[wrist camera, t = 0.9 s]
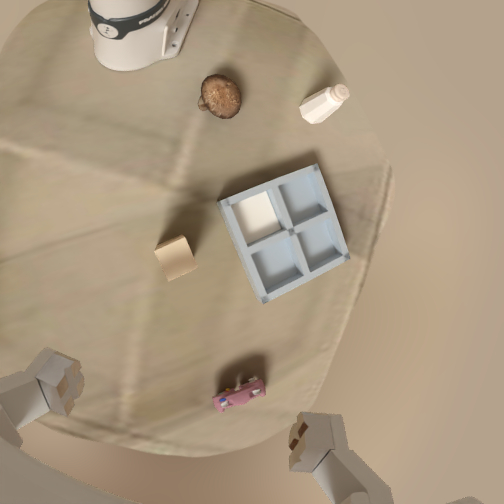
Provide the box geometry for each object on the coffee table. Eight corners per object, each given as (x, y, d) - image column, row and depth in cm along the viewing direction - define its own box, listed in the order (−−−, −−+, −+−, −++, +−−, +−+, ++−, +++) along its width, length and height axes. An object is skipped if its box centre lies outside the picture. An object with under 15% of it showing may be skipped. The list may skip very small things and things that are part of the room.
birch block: (156, 245, 47) (154, 251, 38) (181, 234, 48) (185, 237, 39) (168, 270, 48) (168, 281, 39) (192, 259, 49) (198, 267, 40)
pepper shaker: (293, 105, 51) (321, 83, 40) (313, 93, 51) (343, 71, 41) (310, 129, 52) (342, 111, 41) (330, 116, 53) (362, 98, 42)
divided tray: (216, 202, 49) (220, 200, 45) (308, 166, 52) (317, 163, 49) (256, 298, 52) (263, 304, 49) (340, 256, 56) (350, 258, 53)
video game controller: (257, 373, 56) (262, 375, 49) (266, 394, 54) (272, 398, 48) (209, 391, 53) (208, 395, 47) (218, 412, 52) (218, 419, 45)
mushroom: (182, 110, 43) (210, 90, 39) (192, 79, 45) (217, 60, 41) (219, 134, 48) (247, 119, 44) (224, 102, 51) (250, 87, 47)
